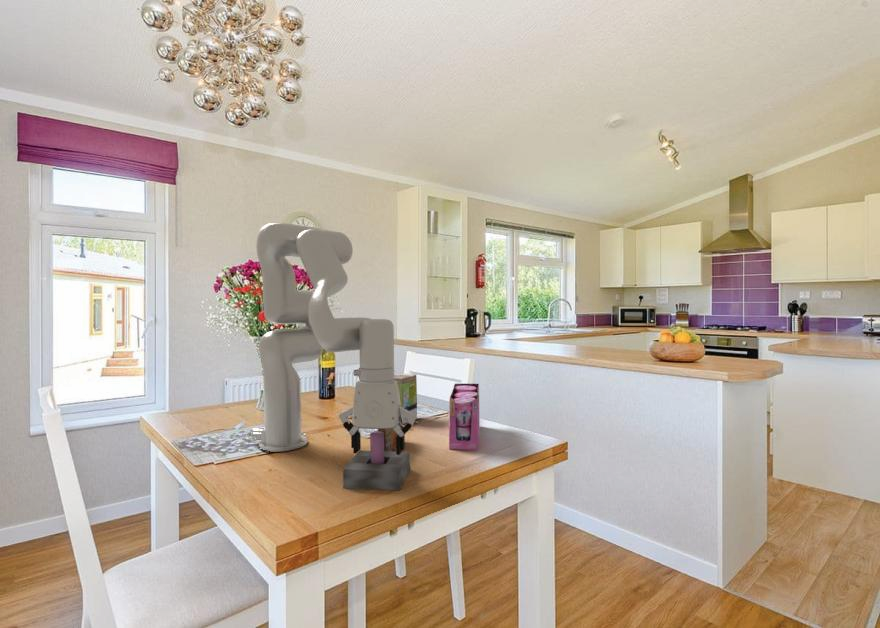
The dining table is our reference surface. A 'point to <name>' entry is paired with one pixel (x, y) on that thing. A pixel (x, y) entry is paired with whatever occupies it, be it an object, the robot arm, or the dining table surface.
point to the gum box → (464, 417)
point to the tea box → (407, 393)
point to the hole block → (376, 471)
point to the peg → (377, 447)
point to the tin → (389, 438)
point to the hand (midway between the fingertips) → (378, 452)
